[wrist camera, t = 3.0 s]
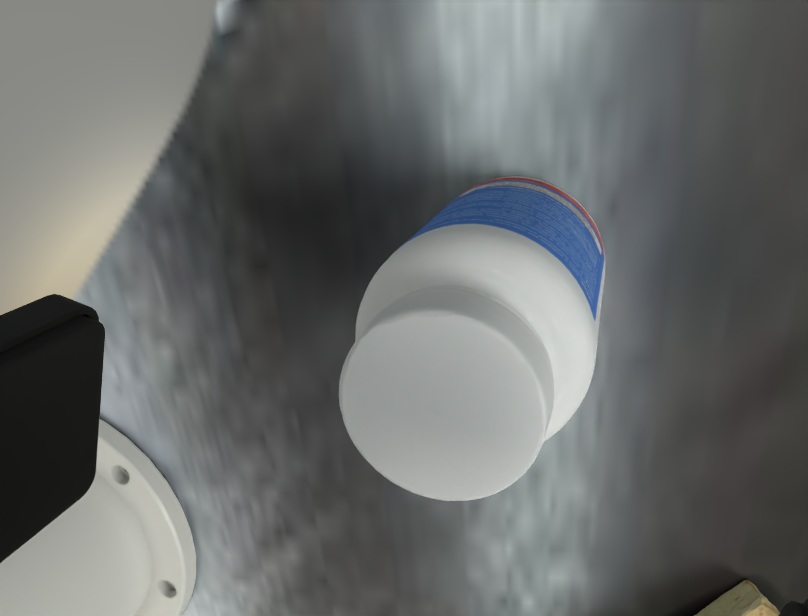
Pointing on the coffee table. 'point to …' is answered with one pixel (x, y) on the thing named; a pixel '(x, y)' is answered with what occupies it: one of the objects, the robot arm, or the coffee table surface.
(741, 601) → the shard
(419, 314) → the pill bottle
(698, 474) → the coffee table surface
